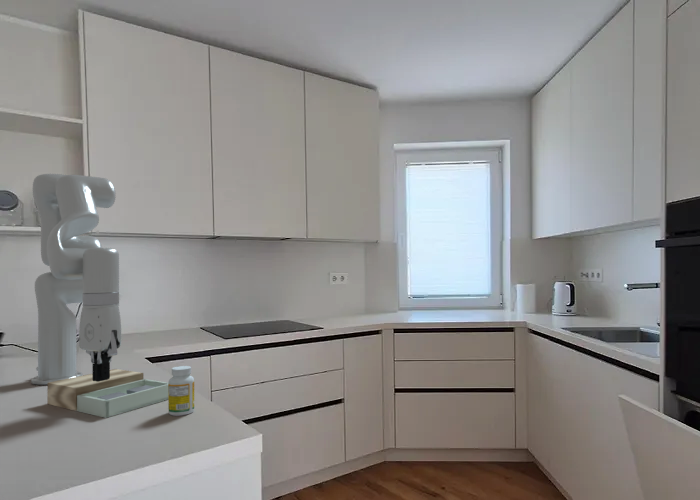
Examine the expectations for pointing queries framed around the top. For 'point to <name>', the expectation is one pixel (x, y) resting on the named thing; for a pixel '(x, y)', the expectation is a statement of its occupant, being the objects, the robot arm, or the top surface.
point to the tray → (122, 398)
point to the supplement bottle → (181, 391)
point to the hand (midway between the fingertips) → (101, 379)
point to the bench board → (85, 387)
